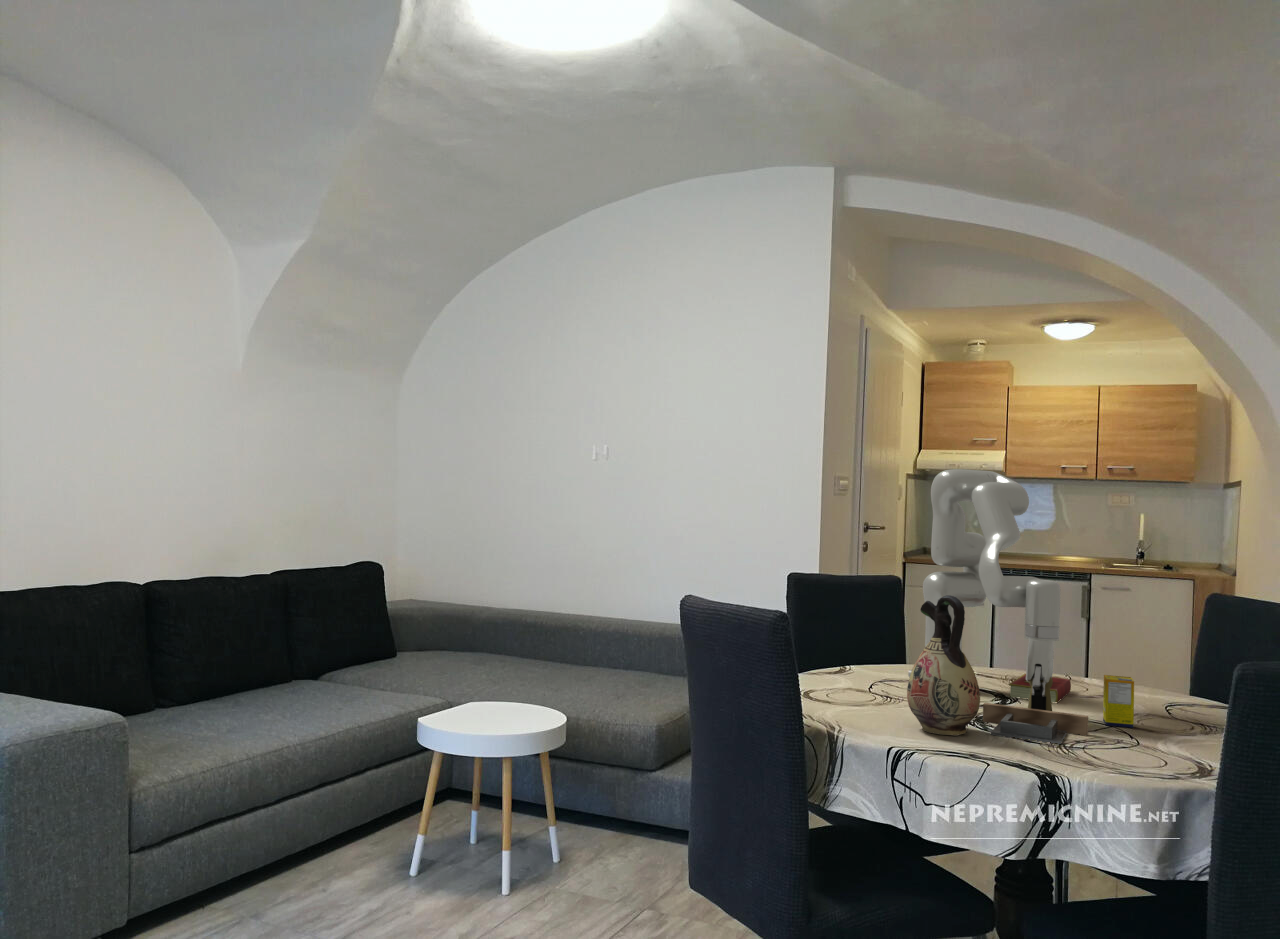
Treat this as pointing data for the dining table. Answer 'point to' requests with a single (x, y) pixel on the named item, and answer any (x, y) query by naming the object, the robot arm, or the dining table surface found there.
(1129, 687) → the supplement box
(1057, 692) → the hardcover book
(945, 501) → the robot arm
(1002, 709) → the door edge rail
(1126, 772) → the dining table surface
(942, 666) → the ceramic jug
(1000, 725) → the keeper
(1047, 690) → the cork
